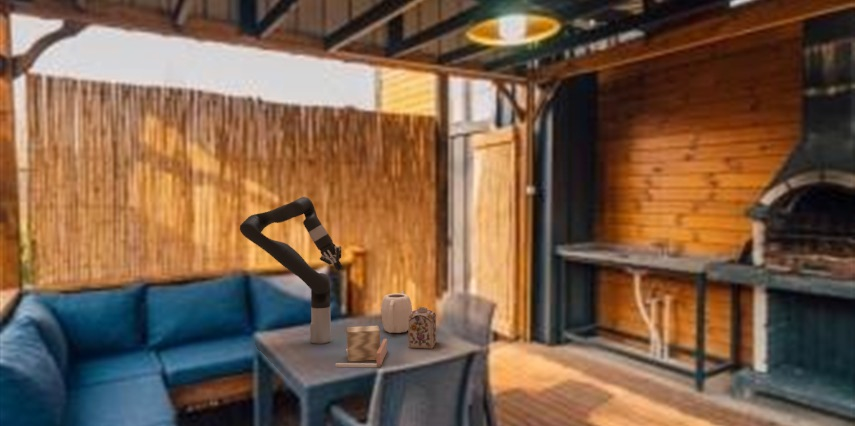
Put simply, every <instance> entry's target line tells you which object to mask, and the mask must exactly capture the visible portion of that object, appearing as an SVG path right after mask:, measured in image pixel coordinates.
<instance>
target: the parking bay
mask: <svg viewBox="0 0 855 426" xmlns="http://www.w3.org/2000/svg"><path fill="white" fill-rule="evenodd" d="M345 353H347V348H346V349H345ZM387 353H388V338H383V339H382V342H380V347H379V349H378V351H377V353H376V359H377V360H376V363H375V362H374V363H369V362H365V363H361V362H348V363H347V362H335V368H381V366H382V364H383V362H384V360H385V358H386V355H387Z"/></svg>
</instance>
